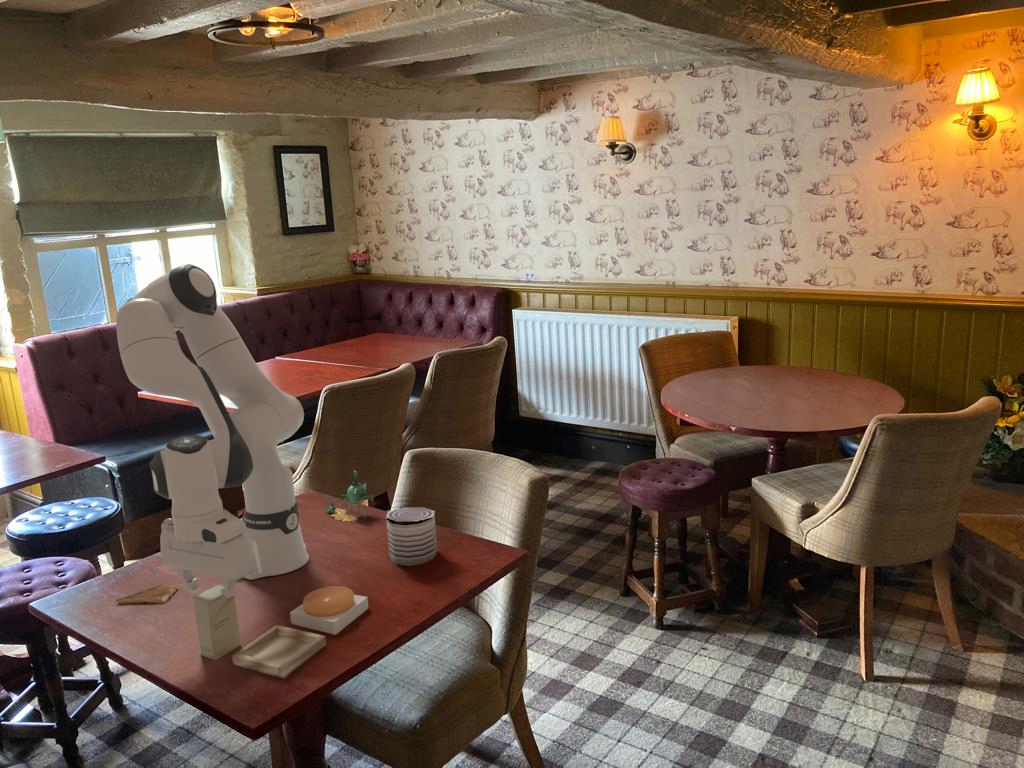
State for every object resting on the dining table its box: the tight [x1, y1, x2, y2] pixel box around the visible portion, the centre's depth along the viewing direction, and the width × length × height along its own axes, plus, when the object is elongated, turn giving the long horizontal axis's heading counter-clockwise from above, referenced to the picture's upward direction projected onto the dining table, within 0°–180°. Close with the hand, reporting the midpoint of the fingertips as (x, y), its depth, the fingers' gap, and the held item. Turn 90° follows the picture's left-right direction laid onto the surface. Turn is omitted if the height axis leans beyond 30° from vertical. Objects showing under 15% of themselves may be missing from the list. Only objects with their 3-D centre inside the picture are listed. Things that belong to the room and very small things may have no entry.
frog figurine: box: [324, 470, 375, 522], centre depth 218 cm, size 10×18×15 cm, turn 60°
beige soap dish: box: [231, 624, 327, 680], centre depth 154 cm, size 12×12×2 cm
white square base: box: [289, 594, 369, 636], centre depth 167 cm, size 11×11×3 cm
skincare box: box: [192, 584, 241, 661], centre depth 156 cm, size 6×4×12 cm
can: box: [385, 506, 438, 567], centre depth 192 cm, size 11×11×12 cm
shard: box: [115, 584, 179, 605], centre depth 179 cm, size 11×8×2 cm
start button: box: [302, 585, 355, 617], centre depth 167 cm, size 10×10×2 cm
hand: (210, 592), depth 154 cm, fingers open, 8 cm apart
